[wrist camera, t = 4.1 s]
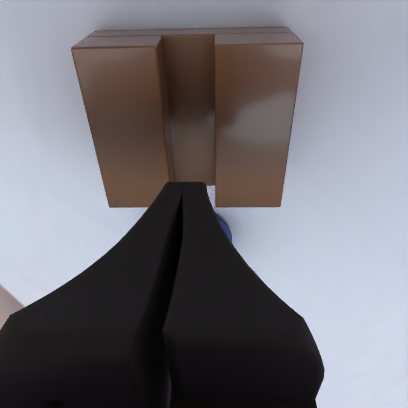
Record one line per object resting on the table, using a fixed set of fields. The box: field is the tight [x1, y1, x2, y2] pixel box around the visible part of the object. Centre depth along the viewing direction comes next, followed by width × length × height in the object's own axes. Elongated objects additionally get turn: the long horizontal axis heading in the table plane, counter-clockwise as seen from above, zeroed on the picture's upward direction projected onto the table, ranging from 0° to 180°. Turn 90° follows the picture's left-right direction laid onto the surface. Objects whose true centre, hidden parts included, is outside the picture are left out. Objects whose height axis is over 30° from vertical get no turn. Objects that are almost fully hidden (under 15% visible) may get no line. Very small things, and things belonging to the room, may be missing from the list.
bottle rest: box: [71, 27, 303, 208], centre depth 15 cm, size 7×8×3 cm
